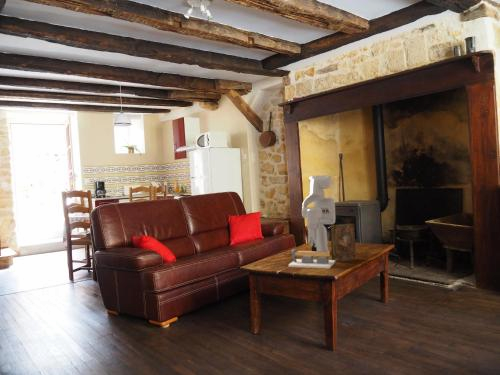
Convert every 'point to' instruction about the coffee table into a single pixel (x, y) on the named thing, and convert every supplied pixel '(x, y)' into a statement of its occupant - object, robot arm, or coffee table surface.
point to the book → (343, 242)
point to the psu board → (312, 262)
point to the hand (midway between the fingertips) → (314, 252)
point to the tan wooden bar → (309, 253)
